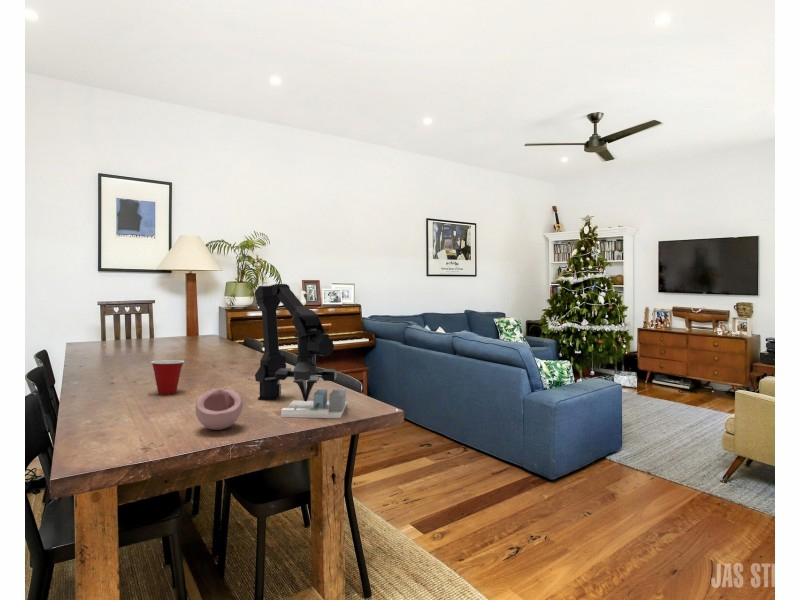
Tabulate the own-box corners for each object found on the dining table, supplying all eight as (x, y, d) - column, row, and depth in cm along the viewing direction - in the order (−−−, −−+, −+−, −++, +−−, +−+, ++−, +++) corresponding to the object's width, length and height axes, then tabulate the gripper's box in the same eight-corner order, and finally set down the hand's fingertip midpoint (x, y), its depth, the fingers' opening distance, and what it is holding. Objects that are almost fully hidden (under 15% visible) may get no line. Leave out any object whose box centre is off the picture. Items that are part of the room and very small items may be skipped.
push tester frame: (281, 417, 137) (281, 397, 137) (293, 403, 153) (293, 385, 153) (340, 418, 137) (340, 398, 137) (346, 404, 153) (346, 386, 153)
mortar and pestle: (194, 438, 117) (195, 394, 117) (195, 424, 128) (195, 384, 128) (243, 432, 122) (244, 390, 122) (240, 420, 133) (240, 381, 133)
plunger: (310, 413, 137) (311, 398, 137) (318, 402, 149) (318, 388, 149) (320, 413, 137) (320, 398, 137) (327, 403, 149) (327, 389, 149)
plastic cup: (189, 390, 169) (190, 358, 169) (174, 397, 159) (174, 363, 158) (161, 389, 170) (161, 357, 169) (143, 396, 159) (144, 362, 159)
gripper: (270, 355, 137) (269, 407, 137) (332, 357, 137) (331, 408, 137) (279, 350, 148) (279, 398, 148) (337, 351, 148) (336, 399, 149)
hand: (305, 401), depth 145 cm, fingers closed
